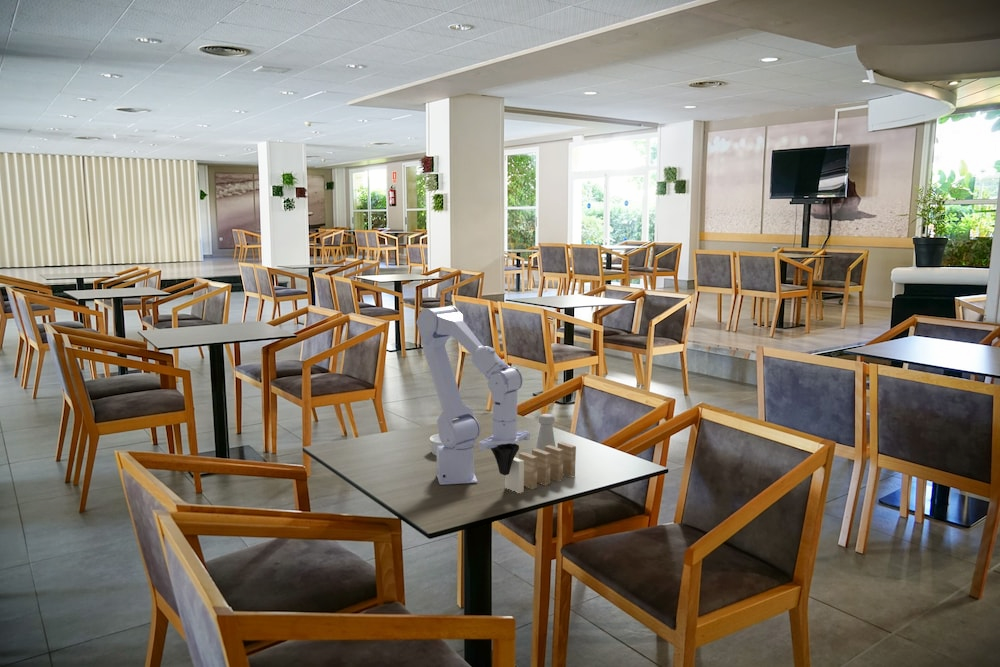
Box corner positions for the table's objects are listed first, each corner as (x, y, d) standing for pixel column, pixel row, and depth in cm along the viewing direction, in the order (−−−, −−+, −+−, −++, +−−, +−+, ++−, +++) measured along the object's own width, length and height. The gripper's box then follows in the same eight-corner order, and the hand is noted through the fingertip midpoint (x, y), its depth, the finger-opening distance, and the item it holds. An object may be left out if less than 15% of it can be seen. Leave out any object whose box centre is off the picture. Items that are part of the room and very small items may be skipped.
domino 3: (558, 481, 194) (558, 450, 193) (544, 476, 198) (545, 446, 197) (562, 480, 195) (563, 449, 194) (548, 474, 199) (549, 445, 198)
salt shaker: (538, 465, 206) (539, 418, 204) (532, 458, 212) (533, 412, 209) (559, 463, 208) (560, 416, 206) (552, 457, 213) (553, 411, 211)
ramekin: (460, 458, 212) (460, 442, 211) (427, 457, 212) (427, 442, 211) (462, 448, 221) (462, 433, 220) (431, 447, 221) (431, 432, 220)
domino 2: (545, 485, 191) (545, 454, 190) (531, 480, 195) (532, 449, 194) (549, 484, 192) (550, 453, 191) (536, 478, 196) (536, 448, 195)
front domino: (518, 493, 185) (519, 462, 184) (504, 488, 189) (505, 456, 188) (523, 492, 186) (524, 460, 185) (509, 486, 190) (510, 455, 189)
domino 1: (532, 489, 188) (532, 458, 187) (518, 484, 192) (518, 453, 191) (536, 488, 189) (537, 456, 188) (523, 482, 193) (523, 451, 192)
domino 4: (570, 477, 197) (571, 447, 196) (556, 472, 201) (557, 442, 199) (575, 476, 198) (575, 446, 197) (561, 471, 202) (561, 441, 200)
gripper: (492, 427, 175) (491, 485, 177) (538, 417, 184) (537, 471, 187) (472, 421, 180) (472, 476, 183) (519, 411, 190) (518, 464, 192)
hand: (504, 473), depth 185 cm, fingers closed
